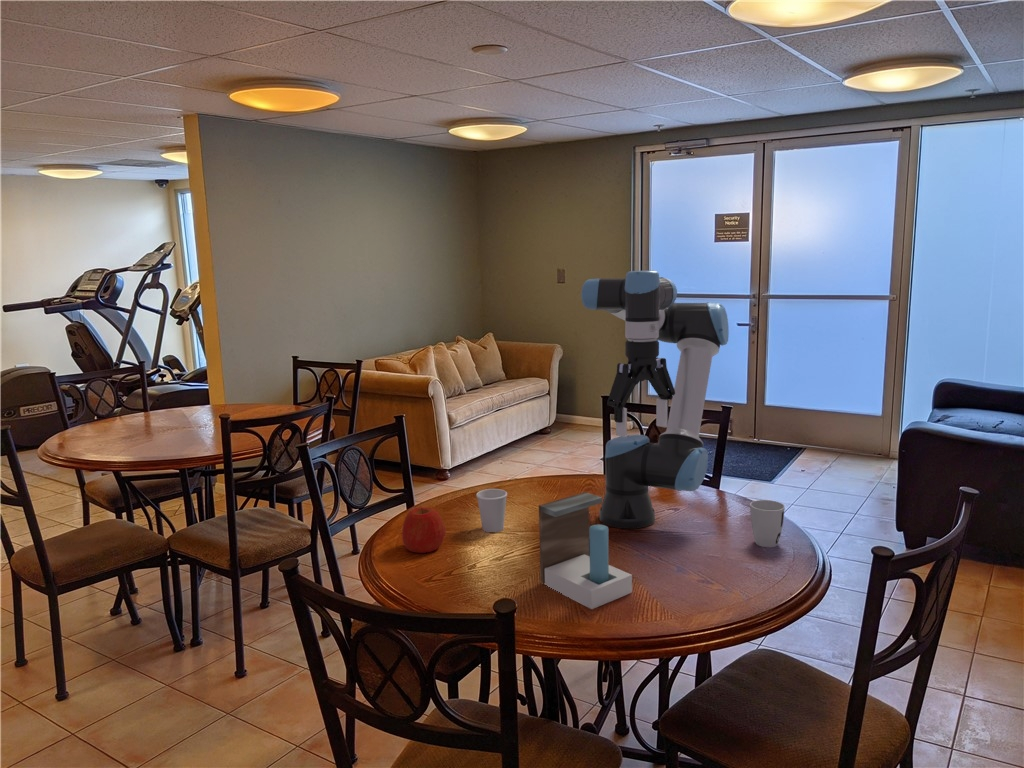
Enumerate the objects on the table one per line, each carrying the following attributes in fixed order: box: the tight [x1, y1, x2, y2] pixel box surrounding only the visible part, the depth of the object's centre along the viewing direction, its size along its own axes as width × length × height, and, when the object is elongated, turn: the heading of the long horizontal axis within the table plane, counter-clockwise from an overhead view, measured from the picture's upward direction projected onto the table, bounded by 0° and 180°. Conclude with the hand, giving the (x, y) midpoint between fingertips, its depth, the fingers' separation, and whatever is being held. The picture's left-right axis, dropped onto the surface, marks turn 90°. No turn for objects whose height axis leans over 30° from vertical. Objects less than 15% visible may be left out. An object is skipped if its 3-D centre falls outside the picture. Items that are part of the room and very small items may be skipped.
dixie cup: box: [475, 488, 508, 533], centre depth 199 cm, size 8×8×10 cm
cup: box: [749, 499, 786, 548], centre depth 183 cm, size 8×8×10 cm
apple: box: [401, 506, 446, 554], centre depth 187 cm, size 11×11×11 cm
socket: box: [544, 554, 633, 610], centre depth 161 cm, size 15×12×4 cm
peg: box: [589, 524, 610, 585], centre depth 158 cm, size 4×4×15 cm
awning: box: [538, 491, 603, 585], centre depth 166 cm, size 6×14×18 cm, turn 128°
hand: (642, 431), depth 170 cm, fingers open, 13 cm apart
